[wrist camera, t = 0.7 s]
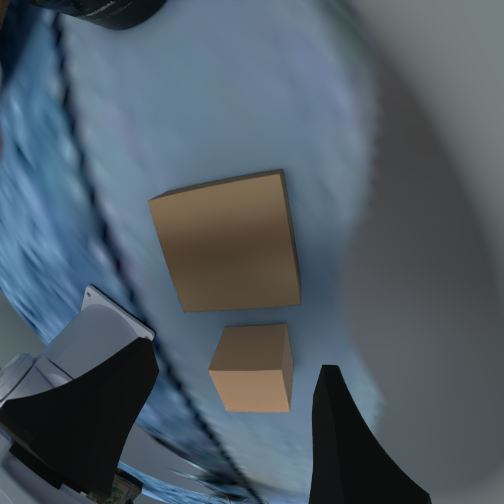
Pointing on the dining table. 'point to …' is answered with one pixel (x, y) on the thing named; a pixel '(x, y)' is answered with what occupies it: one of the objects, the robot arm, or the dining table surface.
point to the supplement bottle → (104, 10)
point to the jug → (3, 10)
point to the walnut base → (230, 243)
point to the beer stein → (121, 489)
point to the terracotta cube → (254, 368)
